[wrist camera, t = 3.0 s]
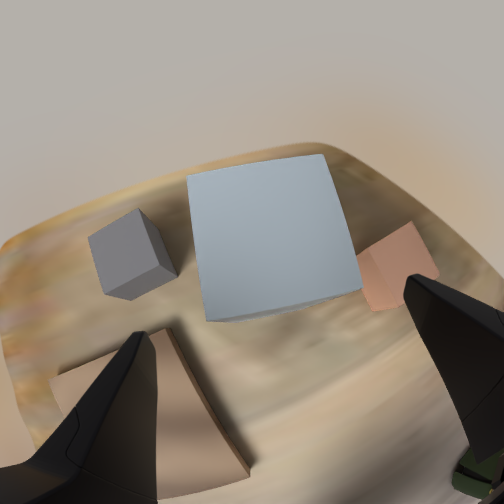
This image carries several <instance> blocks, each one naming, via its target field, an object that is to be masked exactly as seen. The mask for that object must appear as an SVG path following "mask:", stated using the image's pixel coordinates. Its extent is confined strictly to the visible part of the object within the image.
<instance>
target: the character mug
mask: <svg viewBox="0 0 504 504" xmlns="http://www.w3.org/2000/svg"><path fill="white" fill-rule="evenodd" d="M503 453H504V448H503V449H502V450H500V451H499V452H497V453H496V454H494V455H493V456H491V457H490V458H488V459H486V460H485V461H483V462H482V463H480V464H478V465H477V463H476V461H475V458H474V455H473V452H472V449H471V448H470V449H469V450H468V451H467V453H466V454H465V455H464V457H463V458H462V459H461V460H460V463H459V464H461V465H463V466H464V467H465V468H464V470H463V473H462V474H460V473H458V472H456V471H455V472H454V474H453V479H452V485H453V487H454V489H456V490H458V491H460V492H462V493H464V494H467V495H470V496H472V497H475V498H478V499H481V500H483V499H484V498H485V497H487V496H488V495H489V494H490V493H491V492H493V491H494V490H493V487H492V485H491V483H492V480H493V477H494V473H495V470H496V466H497V463H498V459H499V457H500V456H501V455H502V454H503Z"/></svg>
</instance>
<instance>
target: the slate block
mask: <svg viewBox="0 0 504 504" xmlns="http://www.w3.org/2000/svg"><path fill="white" fill-rule="evenodd" d="M186 177H187V187H188V196H189V205H190V214H191V222H192V230H193V237H194V245H195V252H196V259H197V266H198V273H199V279H200V285H201V292H202V298H203V304H204V310H205V315H206V321H212V322H230V323H237V322H242V321H248V320H253V319H258V318H263V317H268V316H273V315H278V314H283V313H287V312H292V311H297V310H301V309H304V308H307V307H311V306H314V305H317V304H320V303H323V302H325V301H328V300H331V299H334V298H337V297H340V296H343V295H346V294H348V293H351V292H354V291H357V290H359V289H362V288H364V286H363V281H362V277H361V273H360V269H359V266H358V262H357V258H356V254H355V251H354V247H353V243H352V240H351V236H350V233H349V230H348V226H347V223H346V220H345V216H344V213H343V210H342V207H341V204H340V201H339V198H338V195H337V192H336V189H335V186H334V183H333V180H332V177H331V175H330V172H329V169H328V166H327V164H326V161H325V158H324V156H323V154H316V155H307V156H299V157H291V158H283V159H276V160H269V161H263V162H256V163H250V164H244V165H238V166H233V167H227V168H222V169H217V170H212V171H207V172H202V173H197V174H193V175H188V176H186Z"/></svg>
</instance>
